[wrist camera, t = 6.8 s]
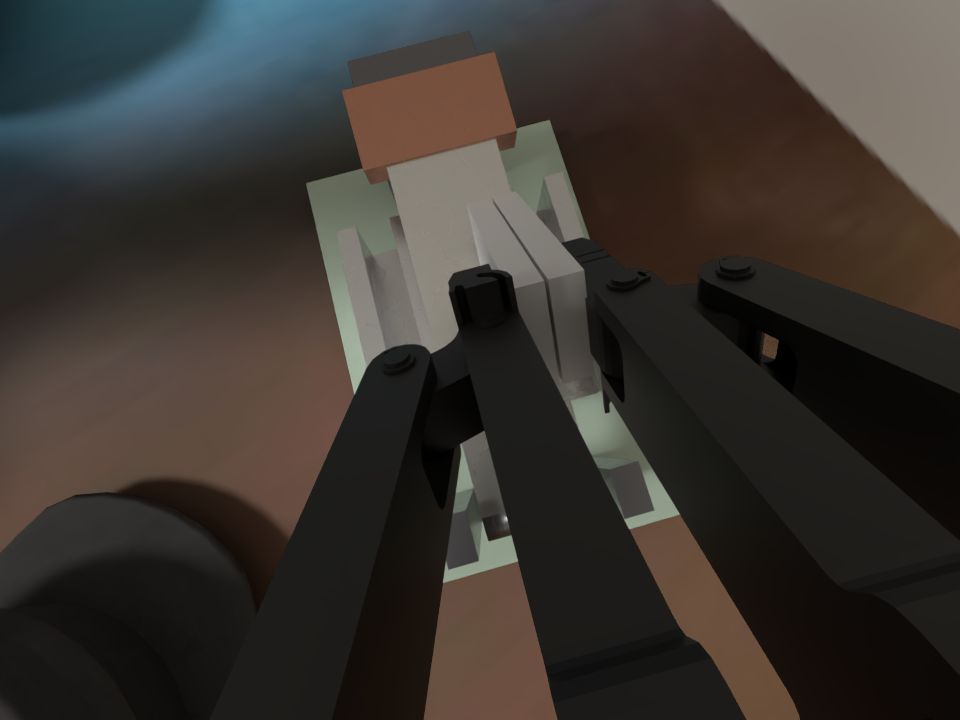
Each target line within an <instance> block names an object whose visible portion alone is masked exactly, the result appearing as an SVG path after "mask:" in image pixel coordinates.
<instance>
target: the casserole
mask: <svg viewBox="0 0 960 720" xmlns="http://www.w3.org/2000/svg"><path fill="white" fill-rule="evenodd" d="M256 614H257V611H256V607H255V603H254V598H253V594H252V589H251V585H250V581H249V579H248V578H247V576H246V575H245V573H244V572H243V570H242V568H241V567H240V565H239V564H238V562H237V561H236V559H235V557H234V556H233V554H232V553H231V552H230V551H229V550H228V549H227V548H226V547H225V546H224V545H223V544H222V543H221V542H220V541H218V540H217V539H216V538H215V537H214V536H213V535H212V534H211V533H210V532H209V531H208V530H207V529H206V528H204V527H203V526H201V525H200V524H198V523H196V522H195V521H193V520H192V519H190V518H189V517H187V516H185V515H184V514H182V513H181V512H179V511H178V510H176V509H173V508H171V507H168V506H165V505H162V504H159V503H157V502H154V501H151V500H148V499H145V498H143V497H137V496H130V495H123V494H116V493H109V492H105V493H93V494H81V495H75V496H72V497H70V498H68V499H66V500H63V501H61V502H59V503H56V504H54V505H52V506H50V507H47V508H46V509H45V510H44V511H43V512H42V513H41V514H40V515H39V516H37V517H36V518H35V519H34V520H33V521H32V522H31V523H30V524H29V525H28V526H27V527H26V528H25V529H24V530H23V531H21V532H20V533H19V534H18V535H17V536H16V537H15V538H14V540H13V541H12V542H11V543H10V544H9V545H8V546H7V547H6V548H5V549H4V550H3V551H2V552H1V553H0V720H210V718H211V715H212V713H213V711H214V709H215V706H216V704H217V702H218V700H219V697H220V695H221V693H222V691H223V688H224V686H225V684H226V682H227V679H228V677H229V675H230V673H231V670H232V668H233V666H234V664H235V661H236V659H237V657H238V655H239V653H240V650H241V648H242V646H243V644H244V641H245V639H246V637H247V635H248V632H249V630H250V628H251V626H252V623H253V621H254V619H255V617H256Z"/></svg>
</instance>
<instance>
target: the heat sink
mask: <svg viewBox="0 0 960 720" xmlns="http://www.w3.org/2000/svg"><path fill="white" fill-rule="evenodd" d="M476 56H477V52H476V49H475V46H474V43H473V40H472V37H471V33H470V31H467V32H463V33H459V34H455V35H451V36H447V37H443V38H439V39H435V40H431V41H427V42H423V43H419V44H415V45H411V46H407V47H403V48H399V49H395V50H391V51H387V52H383V53H379V54H376V55H372V56H368V57H364V58H360V59H356V60H352V61H348V62H347V63H348V66H349V70H350V74H351V78H352V82H353V86H354V88H355V87H359V86H362V85H366V84H370V83H374V82H378V81H382V80H386V79H390V78H394V77H398V76H402V75H406V74H410V73H414V72H417V71H421V70H425V69H429V68H433V67H437V66H441V65H445V64H449V63H453V62H457V61H461V60H465V59H469V58H473V57H476ZM388 184H389V187H390V189H391V192H392V195H393V197H394V193H393V189H392V186H391V182H390V180H388ZM509 187H510V190H511V192H513V190H512V187H511V186H509ZM394 200H395V197H394ZM395 203H396V200H395ZM534 213H535V214H536V215H537V217H538V218H539V219H540V220H541V221H542V222H543V223H544V225H545V226H546V227H547V228H548V229H549V230H550V231H551V233H552V234H553V235H554V236H555V237H556V238H557V239H558V241H559V242H560V243H562V242H566V241H570V240H574V239H577V238H581V237H583V238H584V235H583V232H582V229H581V226H580V223H579V220H578V217H577V214H576V211H575V208H574V205H573V202H572V199H571V196H570V194H569V191H568V188H567V185H566V182H565V179H564V176H563V173H562V172H561V173H557V174H553V175H549V176H545V177H544V178H543V183H542V188H541V193H540V198H539V203H538V207H537V212H534ZM389 220H390V224H391V228H392V231H393V235H394V239H395V243H396V247H397V249H394V250H391V251H387V252H383V253H379V254H376V255H372V253H371V251H370V250H369V248H368V246H367V245H366V243H365V241H364V240H363V238H362V236H361V235H360V233H359V231H358V230H357V228H356V227H352V228H348V229H345V230H341V231H337V235H338V239H339V244H340V248H341V252H342V256H343V260H344V263H342V267H343V271H344V275H345V279H346V283H347V288H348V292H349V296H350V300H351V304H352V309H353V313H354V317H355V321H356V326H357V330H358V334H359V338H360V342H361V347H362V351H363V355H364V359H365V364H366V368H367V366H368V365H369V364H370V362H371V361H372V359H374V358H375V357H376V356H378V355H379V354H380V353H382V352H383V351H385V350H387V349H389V348H392V347H394V346H400V345H404V344H417V345H421V346H424V347H426V348H427V349H428V350H429V351H430V354H431V353H434V352H436V347H435V344H434V340H433V336H432V333H431V329H430V325H429V322H428V318H427V314H426V311H425V307H424V303H423V300H422V296H421V292H420V289H419V285H418V281H417V278H416V274H415V270H414V267H413V263H412V259H411V256H410V252H409V248H408V245H407V241H406V237H405V233H404V230H403V226H402V222H401V219H400V215H398V216H394V217H390V218H389ZM593 364H594V374H595V376H593V377H589V378H585V379H581V380H578V381H574V382H570V383H567V384H566V386H567V390H568V393H569V397H570V400H571V403H574V402H578V401H582V400H585V399H589V398H592V397H596V396H599V395H602V384H601V373H600V367H599V365H598V363H597V362H596V360H595V359H594V357H593ZM593 459H594V461H595V463H596V465H597V467H598V469H599V471H600V473H601V475H602V477H603V479H604V481H605V483H606V485H607V487H608V488H609V490H610V492H611V494H612V496H613V498H614V500H615V502H616V504H617V506H618V508H619V510H620V512H621V514H622V516H623V518H624V519H627V518H630V517H634V516H637V515H641V514H644V513H648V512H651V511H655V510H654V507H653V504H652V501H651V498H650V495H649V492H648V489H647V486H646V483H645V479H644V476H643V473H642V470H641V467H640V464H639V461H633V460H622V459H611V458H600V457H593ZM481 531H482V519H481V515H480V511H479V507H478V504H477V500H476V496H475V492H474V489H470V490H467V491H463V492H460V493H456V495H455V502H454V509H453V516H452V523H451V530H450V537H449V544H448V551H447V558H446V563H447V567H448V570H450V569H453V568H457V567H460V566H464V565H467V564H471V563H474V562H478V561H479V556H480V543H481Z"/></svg>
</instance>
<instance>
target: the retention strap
mask: <svg viewBox="0 0 960 720" xmlns="http://www.w3.org/2000/svg"><path fill="white" fill-rule="evenodd" d="M342 93H343V96H344V100H345V104H346V107H347V111H348V115H349V119H350V122H351V126H352V130H353V133H354V137H355V141H356V145H357V148H358V152H359V156H360V159H361V163H362V167H363V171H364V173H365V175H366V177H367V179H368V181H369V183H370V185H373V184H377V183H380V182H384V181H388V180H390V182H391V186H392V189H393V193H394V197H395V200H396V204H397V208H398V211H399V215H400V219H401V222H402V226H403V230H404V233H405V237H406V241H407V245H408V248H409V252H410V256H411V259H412V263H413V267H414V270H415V274H416V278H417V281H418V285H419V289H420V292H421V296H422V300H423V303H424V307H425V311H426V314H427V318H428V322H429V325H430V329H431V333H432V336H433V340H434V344H435V347H436V351H438V350H439V349H441V348H443V347H445V346H446V345H447V344H449V343H450V342H451V341H452V340H453V339H454V338H455V337H456V335H457V333H458V326H457V322H456V319H455V315H454V311H453V308H452V304H451V301H450V297H449V285H448V281H449V280H450V278H451V276H452V274H453V273H455V272H459V271H462V270H466V269H470V268H474V267H477V266H480V261H479V257H478V253H477V248H476V244H475V239H474V235H473V231H472V226H471V222H470V217H469V213H468V209H467V204H468V203H472V202H476V201H480V200H484V199H487V198H490V199H491V201H492V202H493V199H492V197H495V196H499V195H503V194H506V193H510V192H511V190H510V187H509V183H508V180H507V176H506V173H505V169H504V166H503V162H502V159H501V155H500V152H499V151H503V150H507V149H511V148H514V147H515V141H516V136H517V128H516V124H515V121H514V117H513V114H512V110H511V107H510V103H509V100H508V96H507V93H506V90H505V86H504V83H503V79H502V76H501V72H500V69H499V65H498V62H497V58H496V55H495V52H492V53H488V54H484V55H480V56H476V57H473V58H469V59H465V60H461V61H457V62H453V63H449V64H445V65H441V66H437V67H433V68H429V69H425V70H421V71H417V72H414V73H410V74H406V75H402V76H398V77H394V78H390V79H386V80H382V81H378V82H374V83H370V84H366V85H362V86H359V87H355V88H351V89H347V90H343V91H342ZM559 381H560V385H559V386H557V388H558V390H559V392H560V394H561V396H562V398H563V400H564V402H565V404H566V406H567V407H568V409H569V411H570V413H571V415H572V417H573V419H574V421H575V423H576V425H577V421H576V418H575V414H574V411H573V407H572V404H571V400H570V397H569V393H568V390H567V386H566V384H563V382H562V380H561V379H560V377H559ZM577 427H578V425H577ZM578 429H579V428H578ZM462 447H463V450H464V454H465V458H466V461H467V465H468V469H469V472H470V476H471V480H472V484H473V487H474V491H475V495H476V498H477V502H478V506H479V509H480V513H481V517H482V520H483V524H484V528H485V532H486V535H487V539H488V541H489V542H490V541H493V540H496V539H500V538H503V537H507V536H510V535H511V532H510V528H509V524H508V520H507V516H506V512H505V508H504V505H503V501H502V497H501V493H500V489H499V485H498V481H497V477H496V473H495V470H494V466H493V462H492V458H491V454H490V450H489V446H488V442H487V438H486V435H485V431H483V432H481V433H480V434H478V435H476V436H474V437H472V438H471V439H469V440H467V441H465V442H463V443H462Z"/></svg>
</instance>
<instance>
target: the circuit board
mask: <svg viewBox="0 0 960 720" xmlns="http://www.w3.org/2000/svg"><path fill="white" fill-rule="evenodd" d="M499 152H500V155H501V159H502V162H503V166H504V169H505V173H506V176H507V180H508V183H509V186H511V187H512V190H513V192H514V191H516V193H517V194H518V195H519V196H520V197H521V198H522V199H523V201H524V202H525V203H526V204H527V205H528V206H529V207H530V209H531V210H532V211H533V212H537V207H538V203H539V198H540V193H541V188H542V183H543V178H544V177H545V176H549V175H553V174H557V173H561V172H562V173H563V176H564V179H565V182H566V185H567V188H568V191H569V194H570V196H571V199H572V202H573V205H574V208H575V211H576V214H577V217H578V220H579V223H580V226H581V229H582V232H583V235H584V238H586V239H589V240H590V238H589V235H588V232H587V229H586V226H585V223H584V220H583V217H582V214H581V212H580V209H579V206H578V203H577V200H576V197H575V194H574V191H573V188H572V185H571V182H570V179H569V176H568V173H567V170H566V167H565V164H564V161H563V158H562V155H561V152H560V149H559V147H558V144H557V141H556V138H555V135H554V132H553V129H552V126H551V123H550V120H547V121H543V122H540V123H536V124H532V125H528V126H524V127H520V128H517V136H516V141H515V147H514V148H511V149H507V150H503V151H499ZM306 185H307V190H308V194H309V198H310V203H311V207H312V212H313V216H314V220H315V225H316V229H317V233H318V238H319V242H320V246H321V251H322V255H323V259H324V264H325V268H326V272H327V277H328V281H329V285H330V290H331V294H332V298H333V303H334V307H335V311H336V316H337V320H338V325H339V329H340V333H341V338H342V342H343V346H344V351H345V355H346V359H347V364H348V368H349V372H350V377H351V381H352V385H353V390H354V394H355V393H356V390H357V388H358V386H359V384H360V381H361V379H362V377H363V375H364V372H365V370H366V364H365V359H364V355H363V351H362V347H361V342H360V338H359V334H358V330H357V326H356V321H355V317H354V313H353V309H352V304H351V300H350V296H349V292H348V288H347V283H346V279H345V275H344V271H343V267H342V263H344V260H343V256H342V252H341V248H340V244H339V239H338V235H337V231H341V230H345V229H348V228H352V227H356V228H357V230H358V231H359V233H360V235H361V236H362V238H363V240H364V241H365V243H366V245H367V246H368V248H369V250H370V251H371V253H372V255H376V254H379V253H383V252H387V251H391V250H394V249H397V247H396V243H395V239H394V235H393V231H392V228H391V224H390V220H389V218H390V217H394V216H398V215H399V211H398V208H397V204H396V203H395V200H394V197H393V195H392V192H391V189H390V187H389V184H388V181H384V182H380V183H377V184H373V185H370V183H369V181H368V179H367V177H366V175H365V173H364V171H363V169H359V170H355V171H351V172H347V173H343V174H340V175H336V176H332V177H328V178H324V179H320V180H316V181H313V182H309V183H306ZM571 404H572V407H573V411H574V414H575V418H576V421H577V425H578V428H579V431H580V433H581V435H582V437H583V439H584V441H585V443H586V445H587V447H588V449H589V451H590V453H591V455H592V457H600V458H611V459H622V460H633V461H639V464H640V467H641V470H642V473H643V476H644V479H645V483H646V486H647V489H648V492H649V495H650V498H651V501H652V504H653V507H654V510H655V511H651V512H648V513H644V514H641V515H637V516H634V517H630V518H627V519H624V520H625V522H626V524H627V526H628V528H629V529H632V528H635V527H638V526H642V525H645V524H649V523H652V522H656V521H659V520H663V519H666V518H670V517H673V516H677V515H680V513H679V512H678V510H677V509H676V507H675V505H674V504H673V502H672V500H671V499H670V497H669V495H668V494H667V492H666V491H665V489H664V487H663V486H662V484H661V482H660V481H659V479H658V477H657V476H656V474H655V473H654V471H653V469H652V468H651V466H650V464H649V463H648V461H647V459H646V458H645V456H644V454H643V453H642V451H641V450H640V448H639V446H638V445H637V443H636V441H635V440H634V438H633V436H632V435H631V433H630V432H629V430H628V428H627V427H626V425H625V423H624V422H623V420H622V418H621V417H620V415H619V414H618V412H617V410H616V409H615V407H614V405H613V404H612V402H610V404H609V407H610V413H606V414H605V411H604V406H603V395H599V396H596V397H592V398H589V399H585V400H582V401H578V402H574V403H571ZM460 446H461V460H460V467H459V474H458V481H457V488H456V493H460V492H463V491H467V490H470V489H474V487H473V484H472V480H471V476H470V472H469V469H468V465H467V461H466V458H465V454H464V450H463V447H462V443H461V444H460ZM474 492H475V491H474ZM475 496H476V495H475ZM476 500H477V498H476ZM477 504H478V502H477ZM478 507H479V506H478ZM479 511H480V509H479ZM480 515H481V513H480ZM481 519H482V517H481ZM517 561H518V559H517V555H516V551H515V547H514V543H513V540H512V536H511V535H510V536H507V537H503V538H500V539H496V540H493V541H490V542H489V541H488V539H487V535H486V532H485V528H484V524H483V520H482V531H481V543H480V556H479V561H478V562H474V563H471V564H467V565H464V566H460V567H457V568H453V569H450V570H448V567H447V563H446V565H445V572H444V579H443V583H445V582H448V581H452V580H455V579H459V578H462V577H466V576H469V575H473V574H476V573H479V572H483V571H486V570H490V569H493V568H497V567H500V566H504V565H507V564H511V563H514V562H517Z"/></svg>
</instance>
